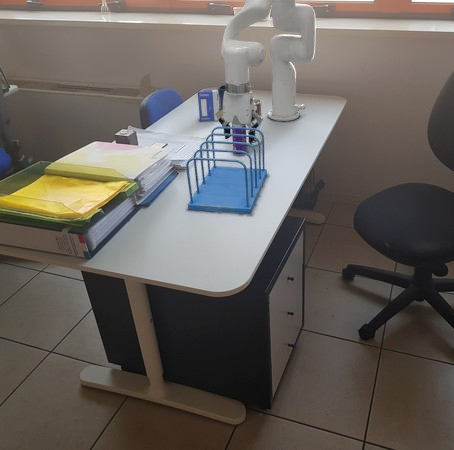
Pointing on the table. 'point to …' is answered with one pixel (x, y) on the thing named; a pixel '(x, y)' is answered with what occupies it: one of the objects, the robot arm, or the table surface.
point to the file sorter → (227, 179)
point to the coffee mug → (221, 95)
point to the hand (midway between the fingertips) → (239, 139)
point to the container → (238, 139)
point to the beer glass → (259, 111)
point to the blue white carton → (208, 105)
